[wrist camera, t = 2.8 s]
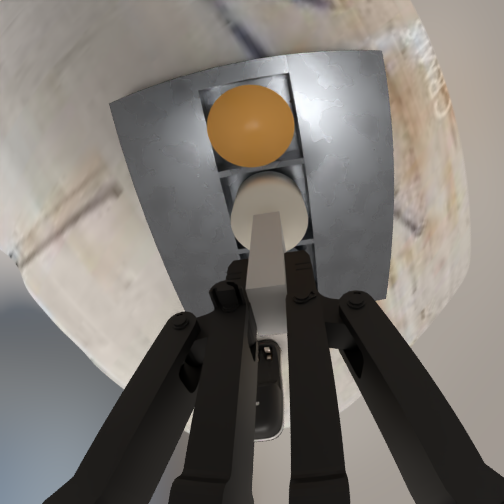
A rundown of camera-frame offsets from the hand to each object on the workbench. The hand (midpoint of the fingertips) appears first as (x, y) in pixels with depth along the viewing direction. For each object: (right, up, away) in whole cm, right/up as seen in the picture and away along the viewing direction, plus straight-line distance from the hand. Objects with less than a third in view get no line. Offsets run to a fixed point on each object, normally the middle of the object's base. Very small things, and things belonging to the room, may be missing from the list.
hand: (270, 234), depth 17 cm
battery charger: (-1, -12, +15) cm, 20 cm away
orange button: (-1, +7, -1) cm, 7 cm away
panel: (0, +3, +5) cm, 6 cm away
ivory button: (0, +2, +3) cm, 3 cm away
